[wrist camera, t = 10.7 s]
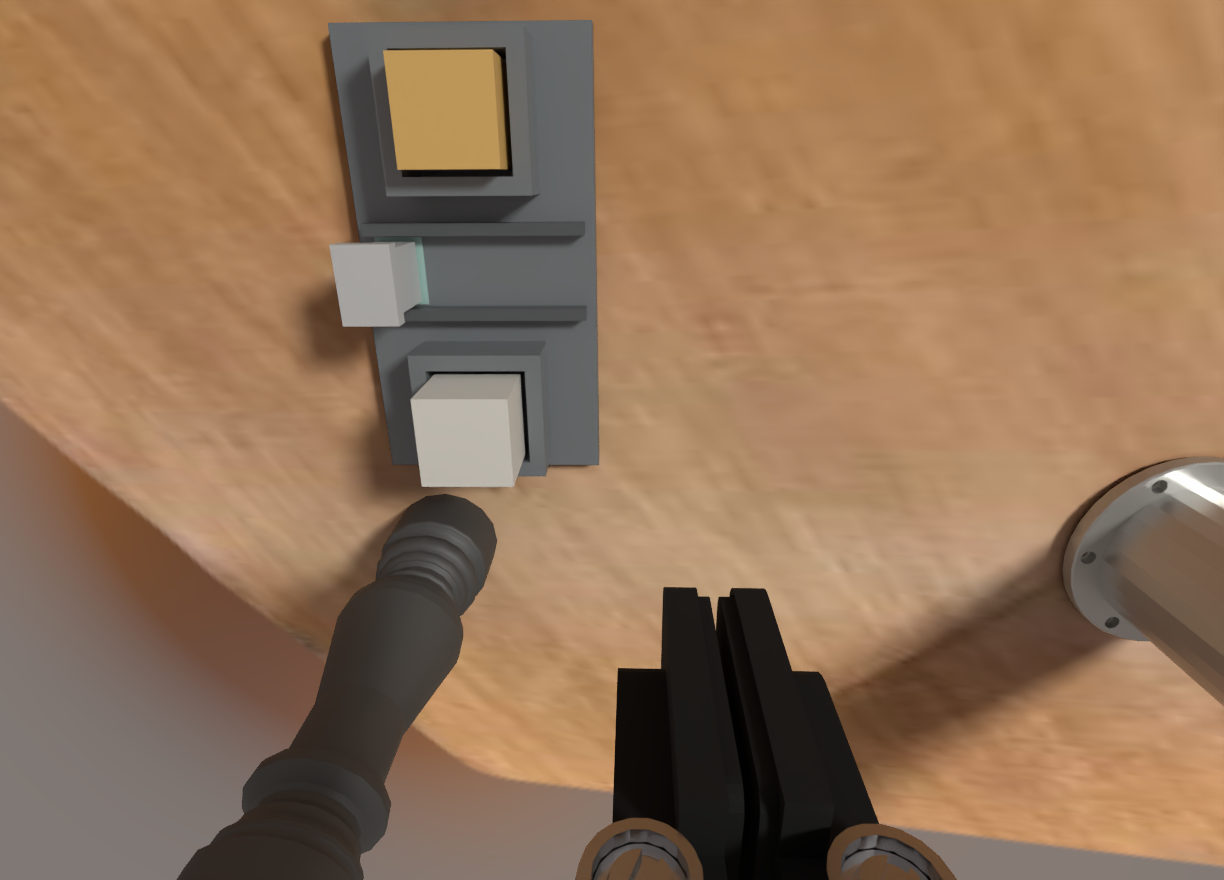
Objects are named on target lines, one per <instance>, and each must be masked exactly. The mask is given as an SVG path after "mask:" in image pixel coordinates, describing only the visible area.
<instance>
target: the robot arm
mask: <svg viewBox="0 0 1224 880" xmlns="http://www.w3.org/2000/svg"><path fill="white" fill-rule="evenodd" d="M1062 571H1063V580H1064V586H1065V589H1066V592H1067V594H1068V597H1069V599H1070V601H1071V602H1072V603H1073V605H1074V606H1075V607H1076V609H1077V610H1078V611H1079V612H1080V613H1081V614H1082V615H1083V616H1084V617H1085V618H1086V619H1087V620H1088V621H1089V622H1090V623H1091V624H1093V625H1094V626H1096V627H1097V628H1099V629H1100V630H1102V631H1103V632H1105V633H1108V634H1111V635H1114V636H1116V637H1119V638H1123V639H1129V640H1135V641H1150V642H1152V643H1153V644H1154V645H1155V646H1156V647H1157V648H1158V649H1159V650H1161V651H1162V652H1163V653H1164V654H1165V655H1166V656H1167V657H1168V658H1170V659H1171V660H1172V661H1173V662H1174V663H1175V664H1176V665H1178V666H1179V667H1180V668H1181V669H1182V670H1183V671H1184V672H1185V673H1187V674H1188V675H1189V676H1190V677H1191V678H1192V679H1193V680H1194V681H1196V682H1197V683H1198V684H1199V685H1200V686H1201V687H1202V688H1204V689H1205V690H1206V691H1207V692H1208V693H1209V694H1210V695H1211V696H1213V697H1214V698H1215V699H1216V700H1217V701H1218V702H1219V703H1220V704H1222V705H1223V706H1224V458H1219V457H1189V458H1182V459H1176V460H1171V461H1168V462H1165V463H1161V464H1158V465H1155V466H1152V467H1149V468H1147V469H1145V470H1143V471H1141V472H1139V473H1137V474H1135V475H1133V476H1131V477H1129V478H1127V479H1126V480H1124V481H1123V482H1121V483H1120V484H1118V485H1117V486H1115V487H1114V488H1112V489H1111V490H1109V491H1108V492H1107V493H1106V494H1105V495H1104V496H1103V497H1101V498H1100V499H1099V500H1098V501H1097V502H1096V503H1095V504H1094V505H1093V506H1092V507H1091V508H1090V509H1089V511H1088V512H1087V513H1086V514H1085V515H1084V517H1083V518H1082V519H1081V520H1080V522H1079V524H1078V525H1077V527H1076V529H1075V530H1074V532H1073V534H1072V536H1071V537H1070V540H1069V543H1068V546H1067V549H1066V551H1065V554H1064V562H1063V570H1062ZM575 880H957V879H956V878H955V876H954V875H953V874H952V872H951V871H950V869H948V867H947V866H946V864H945V863H944V862H943V860H942V859H941V858H940V856H939V855H937V854H936V853H935V852H934V851H933V850H931V849H930V848H929V847H928V846H927V845H926V844H924V843H923V842H922V841H921V840H919V839H917V838H915V837H913V836H912V835H910V834H908V833H906V832H904V831H903V830H900V829H896V828H893V827H890V826H886V825H883V824H879V822H878V820H877V817H876V814H875V812H874V809H873V807H872V804H871V801H870V799H869V796H868V793H867V791H866V788H865V785H864V783H863V780H862V778H861V775H860V772H859V770H858V767H857V764H856V762H855V759H854V756H853V754H852V751H851V749H850V746H849V743H848V741H847V738H846V735H845V733H844V730H843V727H842V725H841V722H840V720H839V717H838V714H837V712H836V709H835V706H834V704H833V701H832V698H831V696H830V693H829V691H828V688H827V685H826V683H825V681H824V679H823V677H822V675H821V674H820V673H819V672H805V671H792V669H791V666H790V663H789V659H788V656H787V653H786V650H785V647H784V644H783V641H782V638H781V634H780V631H779V628H778V625H777V622H776V619H775V616H774V613H773V610H772V606H771V603H770V600H769V597H768V594H767V592H766V590H765V589H757V588H732V589H731V591H730V597H719V599H718V607H717V622H716V630H715V624H714V619H713V613H712V608H711V602H710V598H709V597H698V594H697V589H696V588H681V587H664V589H663V617H662V655H661V669H632V668H618V681H617V709H616V738H615V766H614V795H613V823H612V824H610V825H609V826H607V827H606V828H604V829H602V830H601V831H600V832H598V833H597V834H596V835H595V836H594V838H593V839H592V840H591V841H590V843H589V844H588V845H587V846H586V848H585V850H584V853H583V855H582V858H581V860H580V863H579V865H578V870H577V874H576V878H575Z"/></svg>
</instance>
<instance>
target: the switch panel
mask: <svg viewBox="0 0 1224 880" xmlns="http://www.w3.org/2000/svg"><path fill="white" fill-rule="evenodd" d="M328 28H329V35H330V42H331V49H332V55H333V62H334V69H335V76H336V82H337V89H338V96H339V103H340V110H341V116H342V123H343V130H344V137H345V144H346V150H347V157H348V164H349V171H350V177H351V184H352V191H353V198H354V205H355V211H356V218H357V225H358V232H359V239H360V243H372V242H391V241H415V246H416V255H417V264H418V272H419V281H420V289H421V298H422V302H420V303H418V304H417V305H415V306H414V307H412V308H410V309H409V310H407V311H405V312H404V319H405V323H404V324H402V325H401V326H374V327H373V334H374V340H375V347H376V354H377V361H378V368H379V374H380V381H381V388H382V395H383V401H384V408H385V415H386V422H387V429H388V435H389V442H390V449H391V456H392V463H393V465H419V461H418V454H417V446H416V438H415V431H414V423H413V415H412V408H411V400H410V399H411V398H412V397H413V396H414V395H415V394H416V393H417V392H418V391H419V390H420V389H421V388H422V387H423V386H424V385H425V384H426V383H427V381H428V380H429V379H430V378H431V377H432V376H433V375H434V374H521V390H522V406H523V422H524V439H525V456H524V459H523V462H522V465H521V468H520V470H519V473H518V476H546V474H547V470H548V466H549V465H599V403H598V335H597V266H596V197H595V129H594V60H593V23H592V20H555V21H461V22H368V23H328ZM486 49H493V50H494V51H495V52H496V53H497V54H498V55H499V56H500V57H501V58H502V59H503V60H504V61H505V62H506V63H507V80H508V97H509V114H510V131H511V148H512V165H513V170H397V161H396V153H395V145H394V137H393V128H392V120H391V112H390V104H389V96H388V87H387V79H386V71H385V63H384V54H383V51H385V50H486Z"/></svg>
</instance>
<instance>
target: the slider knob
mask: <svg viewBox="0 0 1224 880" xmlns="http://www.w3.org/2000/svg"><path fill="white" fill-rule="evenodd" d="M330 251H331V258H332V264H333V270H334V276H335V282H336V288H337V294H338V300H339V306H340V312H341V318H342V324H343V327H374V326H401V325H402V324H404V323H405V319H404V312H405V311H407V310H409V309H410V308H412V307H414V306H415V305H417V304H418V303H420V302H422V298H421V289H420V281H419V272H418V264H417V255H416V246H415V241H391V242H372V243H334V244H330Z"/></svg>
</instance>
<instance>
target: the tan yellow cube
mask: <svg viewBox="0 0 1224 880" xmlns="http://www.w3.org/2000/svg"><path fill="white" fill-rule="evenodd" d="M383 54H384V63H385V71H386V79H387V87H388V96H389V104H390V112H391V120H392V128H393V137H394V145H395V153H396V161H397V170H513V165H512V148H511V131H510V114H509V97H508V80H507V63H506V62H505V61H504V60H503V59H502V58H501V57H500V56H499V55H498V54H497V53H496V52H495V51H494V50H493V49H486V50H385V51H383Z"/></svg>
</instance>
